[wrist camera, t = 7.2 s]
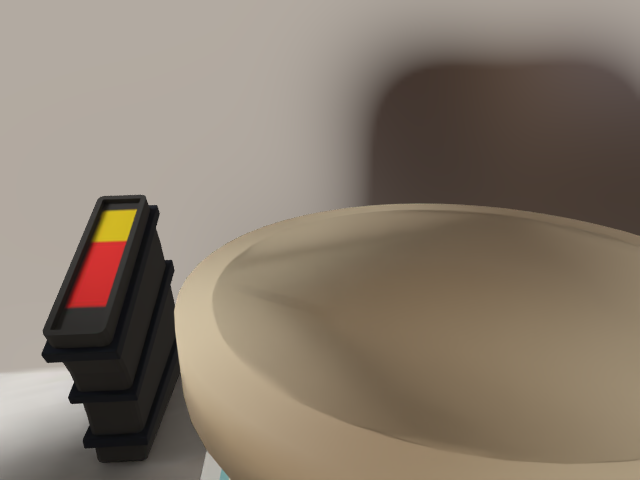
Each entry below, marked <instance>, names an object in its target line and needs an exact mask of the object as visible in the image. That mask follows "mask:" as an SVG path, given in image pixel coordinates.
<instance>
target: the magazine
mask: <svg viewBox="0 0 640 480" xmlns="http://www.w3.org/2000/svg"><path fill="white" fill-rule="evenodd" d="M159 214H160V213H159V210H158V207H157V205H148V203H147V200H146V197H145V196H144V195H124V196H103V197H100V198H99V199H98V200H97V202H96V205H95V207H94V209H93V212H92V214H91V216H90V219H89V221H88V224H87V226H86V228H85V231H84V233H83V236H82V238H81V240H80V243H79V245H78V247H77V250H76V252H75V255H74V257H73V260H72V262H71V264H70V267H69V269H68V271H67V274H66V276H65V279H64V281H63V283H62V286H61V288H60V290H59V293H58V295H57V298H56V300H55V302H54V305H53V307H52V310H51V312H50V314H49V317H48V319H47V321H46V324H45V326H44V329H43V334H44V336H45V337H46V339H47V342H46V344H45V347H44V349H43V352H42V357H43V358H44V359H45V360H46V362H47V363H54V362H63V363H64V365H65V366H66V368H67V369H68V371H69V372H70V374H71V376H72V378H73V380H74V384H73V386H72V389H71V391H70V394H69V396H68V399H69V401H70V403H71V404H80V403H83V405H84V408H85V411H86V414H87V417H88V420H89V424H90V426H89V428H88V430H87V432H86V434H85V436H84V438H83V444H84V448H96V453H97V458H98V460H99V461H100V462H119V461H138V460H144V459H146V458H147V457H148V454H149V451H150V449H151V446H152V444H153V441H154V438H155V436H156V433H157V430H158V428H159V425H160V423H161V420H162V417H163V415H164V412H165V410H166V407H167V404H168V402H169V399H170V396H171V394H172V391H173V389H174V386H175V383H176V381H177V378H178V375H179V373H180V364H179V356H178V349H177V341H176V333H175V318H174V309H175V304H174V299H173V295H172V291H171V286H170V284H171V281H172V277H173V273H174V266H173V262H172V260H164V256H163V252H162V247H161V243H160V240H159V237H158V234H157V231H156V225H157V221H158V218H159Z"/></svg>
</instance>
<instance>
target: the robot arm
mask: <svg viewBox="0 0 640 480" xmlns="http://www.w3.org/2000/svg"><path fill="white" fill-rule="evenodd" d="M221 469H222V468H221V467H220V466H219V465H218V464H217V462H216V461H215V460H214V459H213V457H212V456H211V455H210V454H209V453H208V451H206V455H205V460H204V465H203V469H202V474H201V478H200V480H219V479H220V474H221Z"/></svg>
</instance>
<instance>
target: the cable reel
mask: <svg viewBox="0 0 640 480" xmlns="http://www.w3.org/2000/svg"><path fill="white" fill-rule="evenodd" d="M174 318H175V333H176V341H177V349H178V356H179V364H180V372H181V379H182V387H183V394H184V399H185V402H186V406H187V409H188V412H189V416H190V419H191V422H192V424H193V426H194V428H195V430H196V432H197V433H198V435H199V437H200V439H201V441H202V443H203V444H204V446H205V448H206V450H207V451H208V453H209V454H210V455H211V456H212V457H213V459H214V460H215V461H216V462H217V464H218V465H219V466H220V467H221V468H222V469H221V474H220V479H219V480H640V236H638V235H634V234H631V233H628V232H624V231H620V230H616V229H612V228H609V227H604V226H601V225H597V224H592V223H587V222H583V221H578V220H574V219H569V218H563V217H558V216H552V215H547V214H540V213H534V212H527V211H520V210H513V209H504V208H495V207H483V206H471V205H452V204H389V205H374V206H363V207H352V208H344V209H337V210H331V211H324V212H319V213H314V214H308V215H303V216H299V217H296V218H291V219H287V220H283V221H280V222H277V223H274V224H271V225H268V226H264V227H262V228H260V229H257V230H254V231H252V232H249V233H247V234H244V235H242V236H240V237H238V238H236V239H234V240H232V241H230V242H229V243H227V244H225V245H224V246H222V247H221V248H219V249H217V250H216V251H214V252H212V253H211V254H210V255H209V256H208V257H207V258H205V259H204V260H203V261H202V262H201V263H199V264H198V265H197V267H196V268H195V269H194V270H193V271H192V272H191V273H190V275H189V276H188V277H187V278H186V280H185V282H184V284H183V286H182V288H181V289H180V291H179V293H178V297H177V301H176V305H175V309H174Z"/></svg>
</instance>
